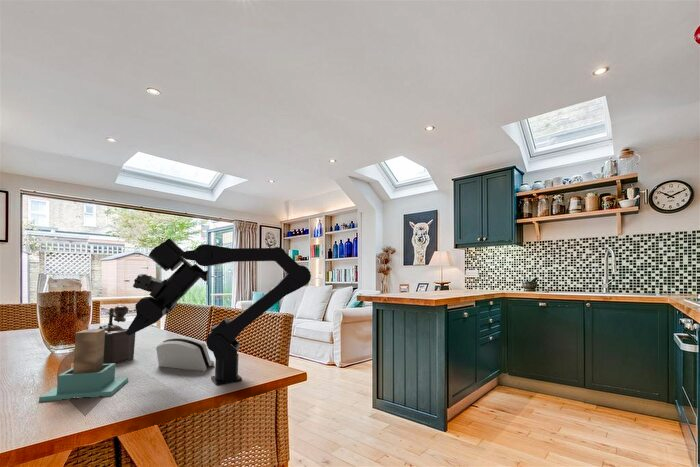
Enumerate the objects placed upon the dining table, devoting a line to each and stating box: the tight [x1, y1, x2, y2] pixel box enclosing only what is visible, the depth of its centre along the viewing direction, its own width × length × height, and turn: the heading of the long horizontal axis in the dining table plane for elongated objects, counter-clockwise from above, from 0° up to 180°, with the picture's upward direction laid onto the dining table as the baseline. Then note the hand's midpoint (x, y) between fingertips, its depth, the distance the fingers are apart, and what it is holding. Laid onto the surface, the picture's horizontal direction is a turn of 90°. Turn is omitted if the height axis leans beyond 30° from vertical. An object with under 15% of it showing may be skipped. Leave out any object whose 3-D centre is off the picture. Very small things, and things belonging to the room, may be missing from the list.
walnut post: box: [72, 328, 105, 374], centre depth 86 cm, size 4×4×13 cm
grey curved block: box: [155, 336, 215, 372], centre depth 106 cm, size 17×5×10 cm, turn 72°
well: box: [38, 363, 129, 403], centre depth 86 cm, size 14×11×5 cm
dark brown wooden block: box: [97, 304, 136, 365], centre depth 112 cm, size 16×11×18 cm
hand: (133, 330), depth 90 cm, fingers open, 9 cm apart
